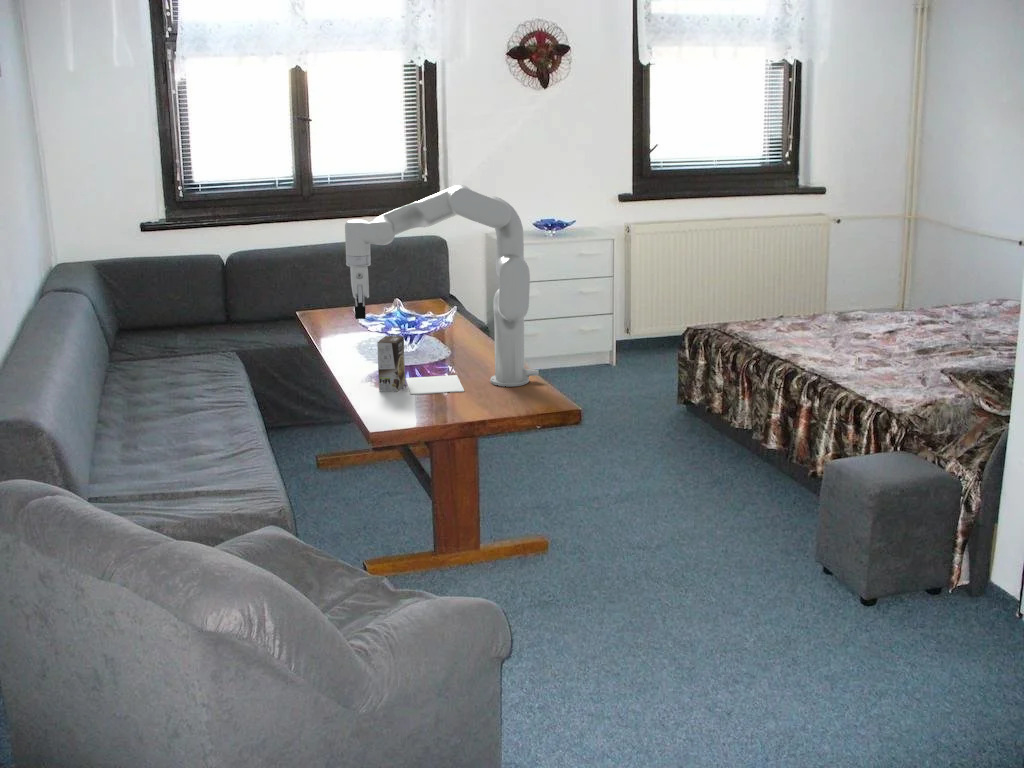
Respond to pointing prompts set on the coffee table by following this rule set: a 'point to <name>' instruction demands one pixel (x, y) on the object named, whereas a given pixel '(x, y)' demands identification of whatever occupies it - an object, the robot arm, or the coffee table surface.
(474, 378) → the coffee table surface
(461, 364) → the coffee table surface
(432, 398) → the coffee table surface
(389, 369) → the coffee box
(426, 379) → the flat white panel
